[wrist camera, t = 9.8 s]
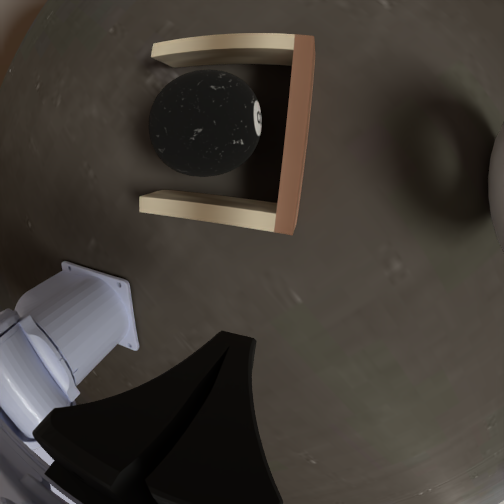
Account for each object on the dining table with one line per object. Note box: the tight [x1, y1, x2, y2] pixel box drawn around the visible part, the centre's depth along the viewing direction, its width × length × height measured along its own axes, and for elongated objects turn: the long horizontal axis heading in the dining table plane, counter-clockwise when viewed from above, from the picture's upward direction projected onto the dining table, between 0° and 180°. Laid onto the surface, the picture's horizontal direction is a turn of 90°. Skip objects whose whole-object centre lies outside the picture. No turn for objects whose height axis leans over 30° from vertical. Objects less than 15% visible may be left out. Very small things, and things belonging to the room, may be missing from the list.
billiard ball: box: [149, 70, 262, 177], centre depth 14 cm, size 6×6×6 cm
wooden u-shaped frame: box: [139, 33, 315, 235], centre depth 15 cm, size 10×11×3 cm
